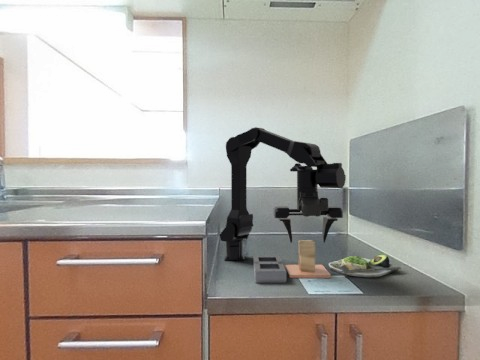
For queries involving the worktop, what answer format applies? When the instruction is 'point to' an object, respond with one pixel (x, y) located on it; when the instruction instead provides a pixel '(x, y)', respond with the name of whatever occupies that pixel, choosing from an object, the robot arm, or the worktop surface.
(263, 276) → the grey slotted holder
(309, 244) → the maple peg
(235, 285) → the worktop surface
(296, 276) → the terracotta tile
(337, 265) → the salad plate
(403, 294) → the worktop surface
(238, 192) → the robot arm
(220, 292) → the worktop surface
